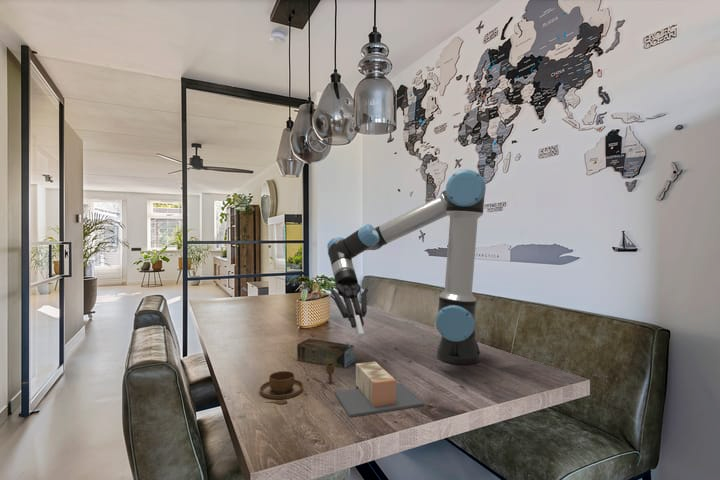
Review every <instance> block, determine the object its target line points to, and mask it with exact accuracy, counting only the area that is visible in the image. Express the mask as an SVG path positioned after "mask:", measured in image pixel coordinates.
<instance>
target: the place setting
mask: <svg viewBox="0 0 720 480" xmlns="http://www.w3.org/2000/svg"><path fill="white" fill-rule="evenodd" d="M325 367H326V370H325V371H326V374H328V384H332V383H333V377H332V375H333V374H334V372H335V367H334V364H333V363H328V364H326V365H325ZM268 378H269V379H268V380H269V381H266V382H264V383H263V384H262V385H261V386H260V388H259V392H260V395H261V396H263V398H265V399H270V400H276V401H265V402H264V403H265V404H266V403H267V404H272V403H273V404H276V405H284V404H287V403H288V401H287V400H286V399H291V398H293V397H296V396H299V395H300V394H301V393H302V392H303V390H304V383H303V382H302V381H301V380H298V379H295V373H294V372H292V371H286V370H285V371H284V370H282V371H281V370H280V371H276V372H273V373H270V375H269V377H268ZM307 381H310V378H307V379H306V382H307ZM294 386H297V387H299V389H298V390H296V391H293V392H291V393H287V392H289V390H292V388H293V387H294ZM268 387H269V388H270V389H271V390H272V391H274V393H276V394H269V393H266V392H264V391H265V389H266V390H267V388H268Z"/></svg>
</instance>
